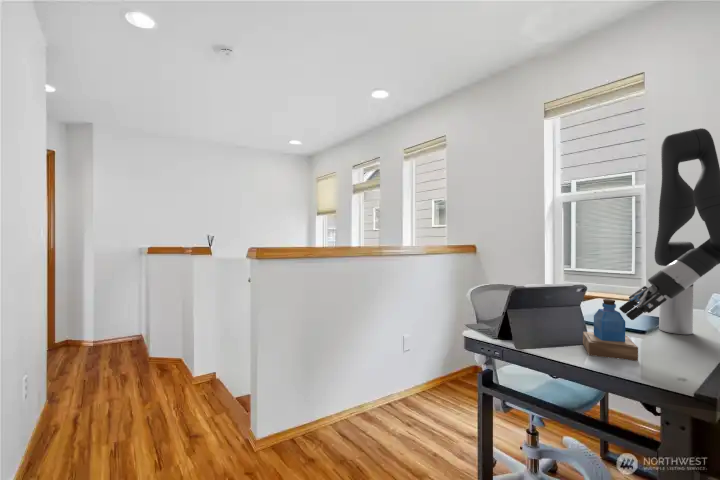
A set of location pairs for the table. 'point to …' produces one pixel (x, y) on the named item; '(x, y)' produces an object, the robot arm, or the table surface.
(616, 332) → the perfume bottle
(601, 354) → the block
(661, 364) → the table surface
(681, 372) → the table surface
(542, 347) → the table surface
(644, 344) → the table surface
